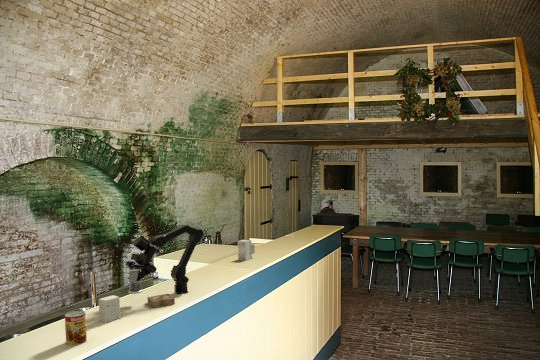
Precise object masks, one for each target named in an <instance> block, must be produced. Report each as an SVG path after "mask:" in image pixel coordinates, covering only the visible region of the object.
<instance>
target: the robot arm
mask: <svg viewBox="0 0 540 360" xmlns="http://www.w3.org/2000/svg"><path fill="white" fill-rule="evenodd" d="M183 234H187V235H188V243H187V245H186V247H185V248H184V250H183V253H182V256H181V257H180V258H179V259H180V260H179V262H178V263H177V265H173V266H172V268H171V270H170V278H171V279H172V280H173V281H174V283H175V284H174V286H173V287H174V294H175V293H176V294H177V295H182V294H186V293H189V291H188V283H189V281H190V279H189V277H187V276H186V274H187V265H188V263H189V261H190V259H191V257H192V255H193V253H194V250H195V248H196V246H197V244H199V243H200V242H201V241H202V239H203V237H204V234H205V233H204V231H203V230H202V229H200V228H194V227H191V226H190V225H187V224H183V225H181V226H179V227H177V228H175V229H173V230H170V231H168V232H166V233H164V234H158V235H155V236H153V237H151V238H150V239H147V238H145V236H144V235H139V237H137V238H136V239H134V240H133V243H132V245H133V246H134V247H135V248H137V250H139V251H140V253H133V252H132V253H131V257H130V260H127V261H126V263H125V266H126V267H127V268H128V269H130V268H136V267H139V268H141V270H140V274H139V276H138V278H137V281H139V280H141V281H142V279H144V278H145V277H146V276H149V275H151V274H155V273H156V271H157V267H156V265H154V264H153V263H152V262H153V258H154V256H155V254H156V255H158V254H160V253H161V252H160V248H162V247H164V246H165V245H166V244H167V243H169V242H170V241H171V240H173V239H175V238H177V237H179V236H181V235H183ZM156 247H157V248H156ZM128 281H129V276H128Z"/></svg>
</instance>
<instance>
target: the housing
mask: <svg viewBox="0 0 540 360" xmlns="http://www.w3.org/2000/svg"><path fill="white" fill-rule="evenodd" d="M127 271H128V277H129V280H128V282H129V283H128V284H129V286H128V287H129V290H128V294H130V295H132V294H134V295H135V294H140V293H143V288H142V279H141V280H139V281H137V278H138V276H139V274H140V272H141V268H139V267H136V268H128V269H127Z"/></svg>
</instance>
